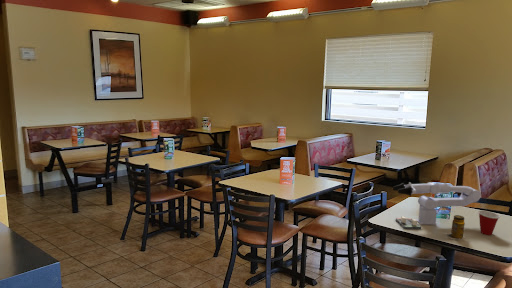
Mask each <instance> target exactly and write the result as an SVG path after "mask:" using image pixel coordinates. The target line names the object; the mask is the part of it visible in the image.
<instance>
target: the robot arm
mask: <svg viewBox="0 0 512 288" xmlns="http://www.w3.org/2000/svg"><path fill="white" fill-rule="evenodd" d="M392 191H395V192H396V191H397V193H398V194H401V195H402V194H403V195H408V196H411V197H412V195H414V194H415V195H416V194H430V193H431V194H432V195H433V194H434V195H437V194H449V193H450V192H451V193H452V192H453V193H461V194H460V196H459V197H433V196H432V197H431V196H426V195H421V196H419V197H418V198H417V202H418V204H419V209H418V218H415V219H416V220H417V223H418V224H419V225H437V215H438V214H437V208H439V207H440V208H441V207H466V206H469V205H470V204H473V203H476V202H479V200H480V199H481V197H482V193H481V190H478V189H475V188H473V187H471V186H467V185H449V183H446V182H443V183H439V182H436V183H434V182H431V181H428V182H427V183H412V182H410V181H409V182H408V184H405V183H404V182H402V183H400V184H397V185H394V186H392Z"/></svg>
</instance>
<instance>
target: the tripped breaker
mask: <svg viewBox="0 0 512 288" xmlns="http://www.w3.org/2000/svg"><path fill="white" fill-rule="evenodd" d="M400 218H401V222H402V223H406V218H407V217H406V216H400Z"/></svg>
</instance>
